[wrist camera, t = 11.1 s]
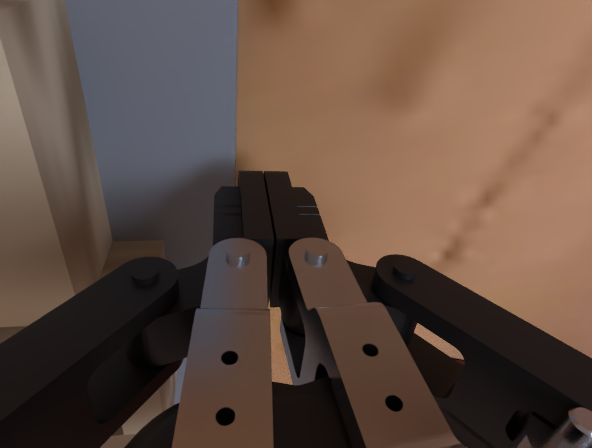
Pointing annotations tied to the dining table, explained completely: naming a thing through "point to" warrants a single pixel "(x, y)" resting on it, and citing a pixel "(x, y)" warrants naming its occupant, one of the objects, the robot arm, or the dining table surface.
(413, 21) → the dining table surface
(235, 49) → the base board
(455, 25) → the dining table surface
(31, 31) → the link
